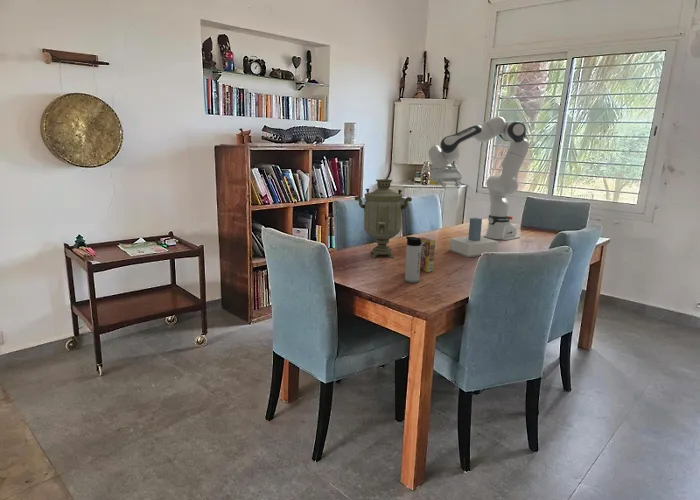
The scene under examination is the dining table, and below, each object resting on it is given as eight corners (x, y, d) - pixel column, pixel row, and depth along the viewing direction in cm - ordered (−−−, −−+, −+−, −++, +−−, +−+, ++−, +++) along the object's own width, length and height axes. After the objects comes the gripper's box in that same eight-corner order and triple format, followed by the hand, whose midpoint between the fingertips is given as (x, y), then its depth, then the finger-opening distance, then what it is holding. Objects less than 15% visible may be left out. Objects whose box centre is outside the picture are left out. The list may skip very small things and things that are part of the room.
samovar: (344, 259, 237) (345, 181, 228) (361, 247, 261) (362, 176, 251) (401, 265, 228) (404, 184, 218) (412, 253, 251) (416, 179, 242)
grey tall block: (474, 238, 257) (476, 217, 255) (480, 240, 254) (482, 219, 251) (468, 239, 256) (470, 218, 253) (473, 241, 252) (475, 219, 249)
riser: (477, 247, 268) (478, 235, 266) (497, 254, 253) (499, 241, 251) (448, 250, 259) (449, 238, 258) (467, 257, 245) (468, 244, 243)
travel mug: (402, 279, 206) (404, 235, 202) (417, 278, 207) (419, 235, 202) (405, 283, 200) (407, 238, 195) (420, 283, 201) (423, 238, 196)
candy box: (433, 271, 219) (436, 240, 216) (427, 272, 217) (429, 241, 213) (420, 266, 226) (421, 236, 222) (413, 268, 223) (415, 237, 219)
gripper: (430, 165, 275) (439, 183, 269) (458, 164, 283) (467, 182, 277) (425, 172, 280) (434, 190, 274) (453, 171, 288) (462, 188, 282)
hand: (451, 186), depth 276 cm, fingers open, 8 cm apart
